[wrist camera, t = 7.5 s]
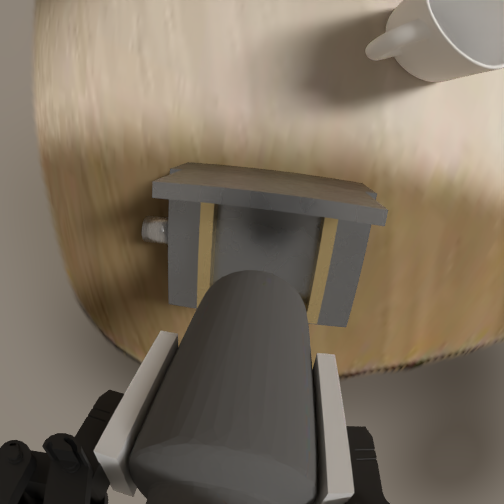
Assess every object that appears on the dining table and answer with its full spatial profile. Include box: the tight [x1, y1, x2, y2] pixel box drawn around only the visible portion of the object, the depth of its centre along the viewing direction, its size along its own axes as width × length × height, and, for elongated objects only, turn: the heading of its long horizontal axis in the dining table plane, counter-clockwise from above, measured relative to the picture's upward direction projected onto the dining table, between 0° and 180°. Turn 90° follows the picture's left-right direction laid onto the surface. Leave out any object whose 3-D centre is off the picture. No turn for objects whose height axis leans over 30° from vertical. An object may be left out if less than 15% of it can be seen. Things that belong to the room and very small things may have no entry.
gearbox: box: [142, 162, 388, 327], centre depth 26 cm, size 12×19×11 cm, turn 84°
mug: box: [365, 0, 504, 82], centre depth 18 cm, size 12×8×10 cm
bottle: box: [128, 270, 318, 504], centre depth 10 cm, size 6×6×15 cm
